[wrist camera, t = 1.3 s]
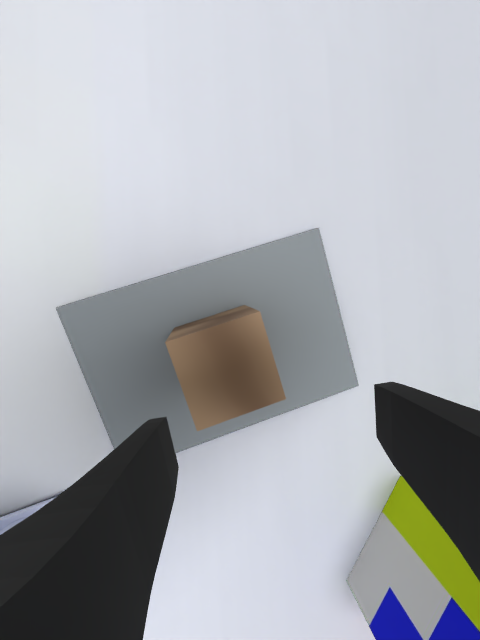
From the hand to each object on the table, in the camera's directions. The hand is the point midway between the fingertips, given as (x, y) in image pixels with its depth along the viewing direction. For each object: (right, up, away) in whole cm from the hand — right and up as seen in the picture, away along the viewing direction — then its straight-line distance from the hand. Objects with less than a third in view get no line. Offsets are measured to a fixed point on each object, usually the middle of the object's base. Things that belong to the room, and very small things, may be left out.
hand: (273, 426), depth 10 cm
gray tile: (-3, +2, +10) cm, 11 cm away
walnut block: (-2, +2, +10) cm, 10 cm away
